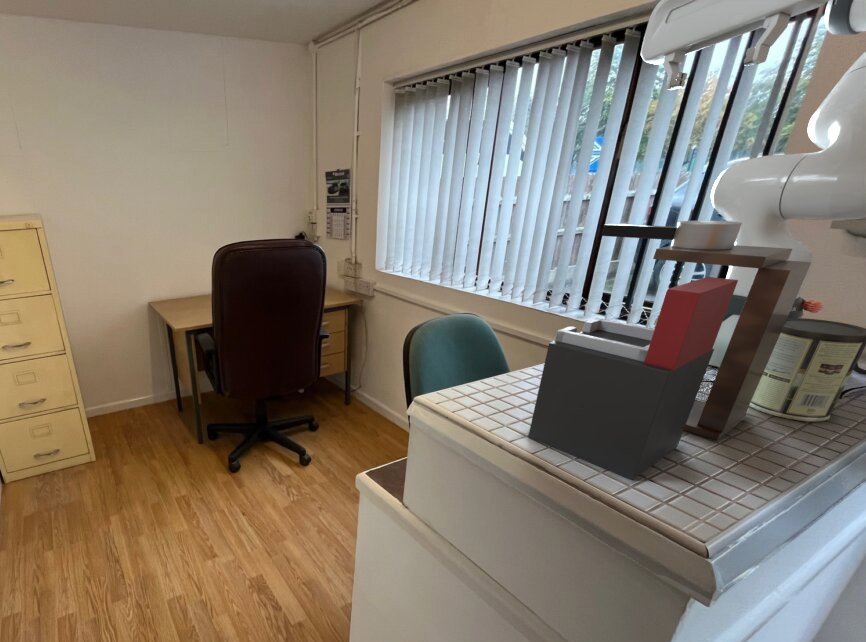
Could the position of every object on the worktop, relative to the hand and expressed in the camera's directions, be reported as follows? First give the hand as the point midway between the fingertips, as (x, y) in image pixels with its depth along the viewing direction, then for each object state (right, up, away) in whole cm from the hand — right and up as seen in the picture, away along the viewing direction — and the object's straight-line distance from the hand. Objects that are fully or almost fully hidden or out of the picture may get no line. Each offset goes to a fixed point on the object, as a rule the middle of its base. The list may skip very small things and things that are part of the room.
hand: (711, 76), depth 63 cm
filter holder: (+1, -20, +9) cm, 22 cm away
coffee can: (+25, -46, +14) cm, 54 cm away
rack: (+6, -47, +13) cm, 49 cm away
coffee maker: (-12, -51, +5) cm, 52 cm away
